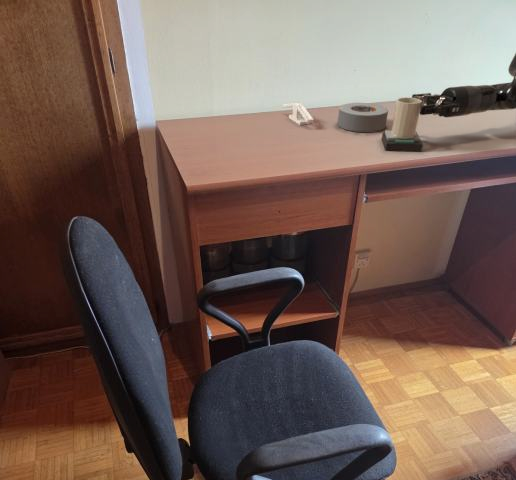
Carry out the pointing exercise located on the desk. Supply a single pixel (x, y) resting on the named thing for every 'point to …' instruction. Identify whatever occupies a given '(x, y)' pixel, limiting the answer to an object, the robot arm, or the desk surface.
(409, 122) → the cup
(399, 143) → the scale
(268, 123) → the desk surface
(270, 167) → the desk surface
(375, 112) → the tape roll
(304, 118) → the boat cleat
